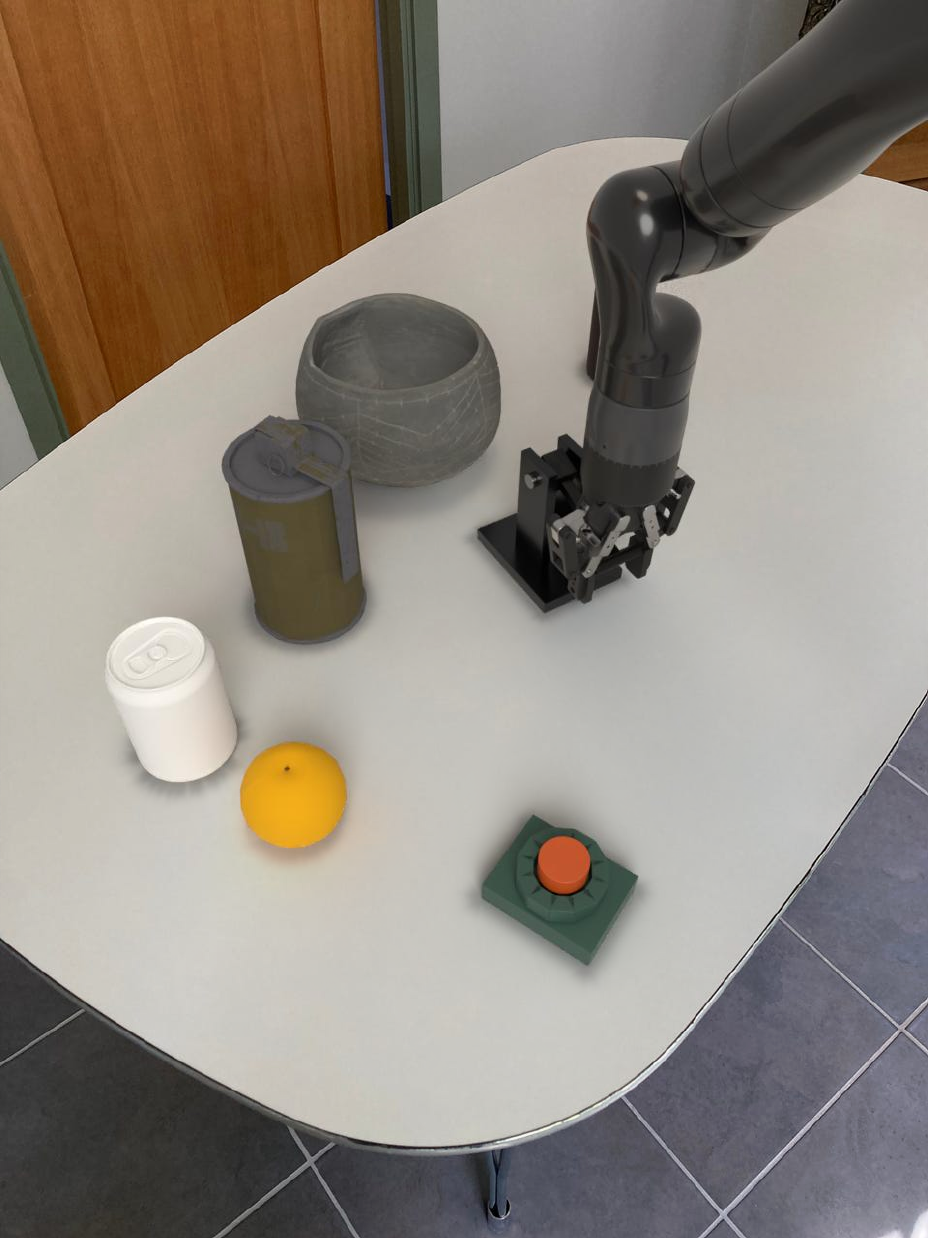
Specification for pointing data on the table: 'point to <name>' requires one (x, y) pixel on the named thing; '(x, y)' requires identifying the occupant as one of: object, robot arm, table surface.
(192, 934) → the table surface
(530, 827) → the button box
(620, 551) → the lever
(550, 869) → the button
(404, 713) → the table surface
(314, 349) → the bowl
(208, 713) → the beverage can
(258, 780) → the orange
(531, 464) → the bracket
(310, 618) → the canister
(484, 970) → the table surface
